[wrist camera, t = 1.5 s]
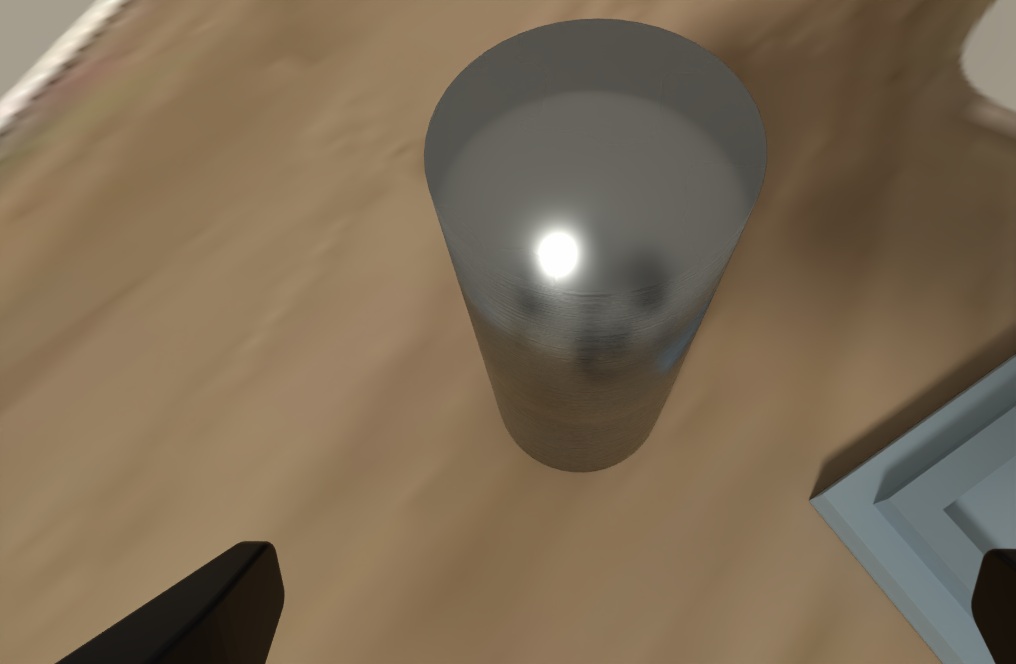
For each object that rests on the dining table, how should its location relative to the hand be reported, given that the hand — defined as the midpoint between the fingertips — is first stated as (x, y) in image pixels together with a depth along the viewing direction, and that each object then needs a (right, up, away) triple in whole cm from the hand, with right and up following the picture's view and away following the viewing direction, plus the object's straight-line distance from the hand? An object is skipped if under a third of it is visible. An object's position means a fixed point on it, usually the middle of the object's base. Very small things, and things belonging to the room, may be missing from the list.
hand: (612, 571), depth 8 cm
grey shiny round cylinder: (+1, +1, +14) cm, 14 cm away
